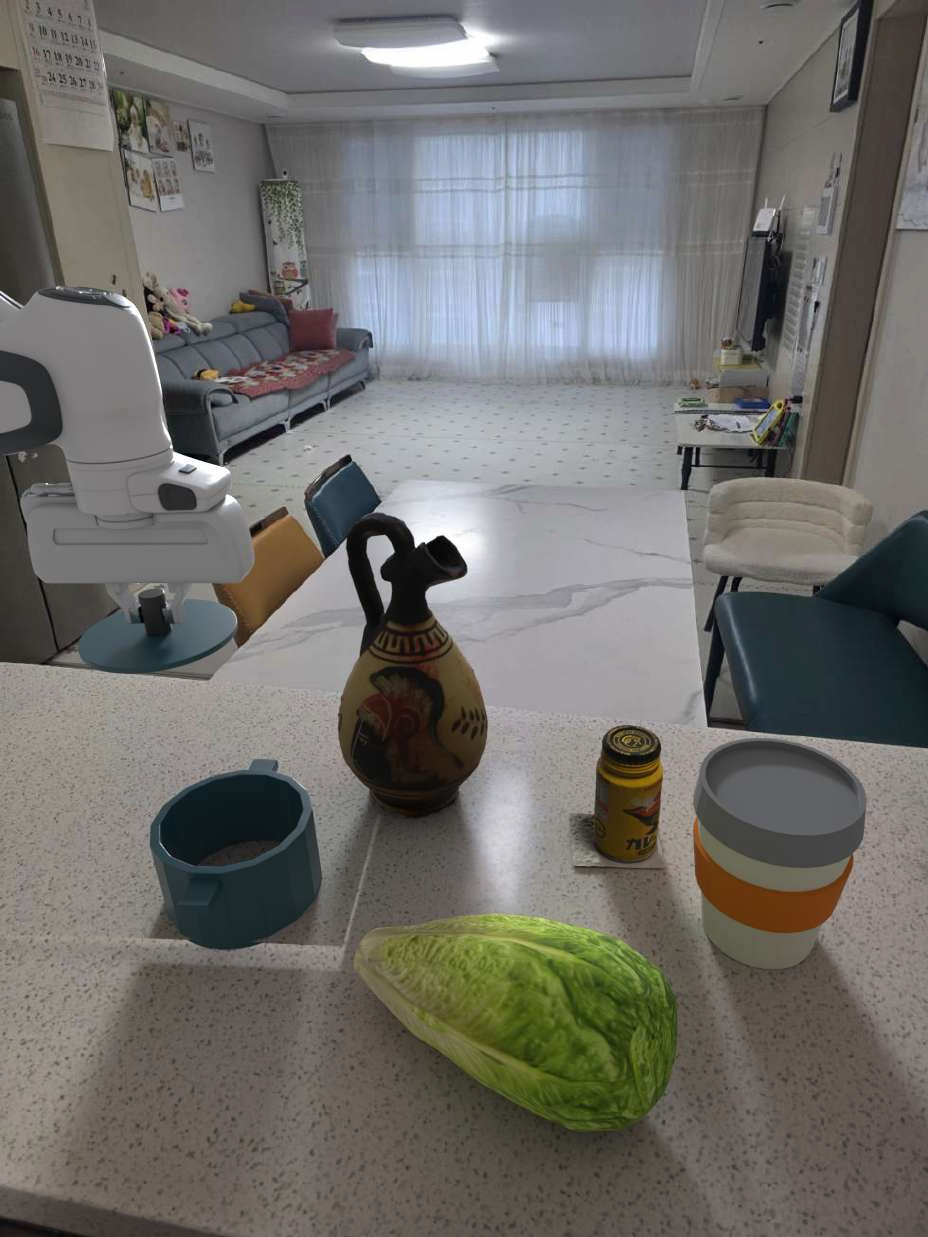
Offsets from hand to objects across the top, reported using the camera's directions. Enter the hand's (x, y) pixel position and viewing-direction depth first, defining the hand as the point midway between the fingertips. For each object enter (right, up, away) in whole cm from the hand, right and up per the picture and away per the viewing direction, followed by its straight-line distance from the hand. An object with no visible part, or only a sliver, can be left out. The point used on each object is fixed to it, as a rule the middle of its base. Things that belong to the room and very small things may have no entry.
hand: (157, 621), depth 79 cm
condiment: (+44, -21, 0) cm, 49 cm away
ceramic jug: (+24, -18, +9) cm, 31 cm away
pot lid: (0, -1, +1) cm, 2 cm away
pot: (+10, -25, -4) cm, 27 cm away
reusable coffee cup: (+54, -26, -10) cm, 61 cm away
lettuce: (+32, -31, -18) cm, 49 cm away
